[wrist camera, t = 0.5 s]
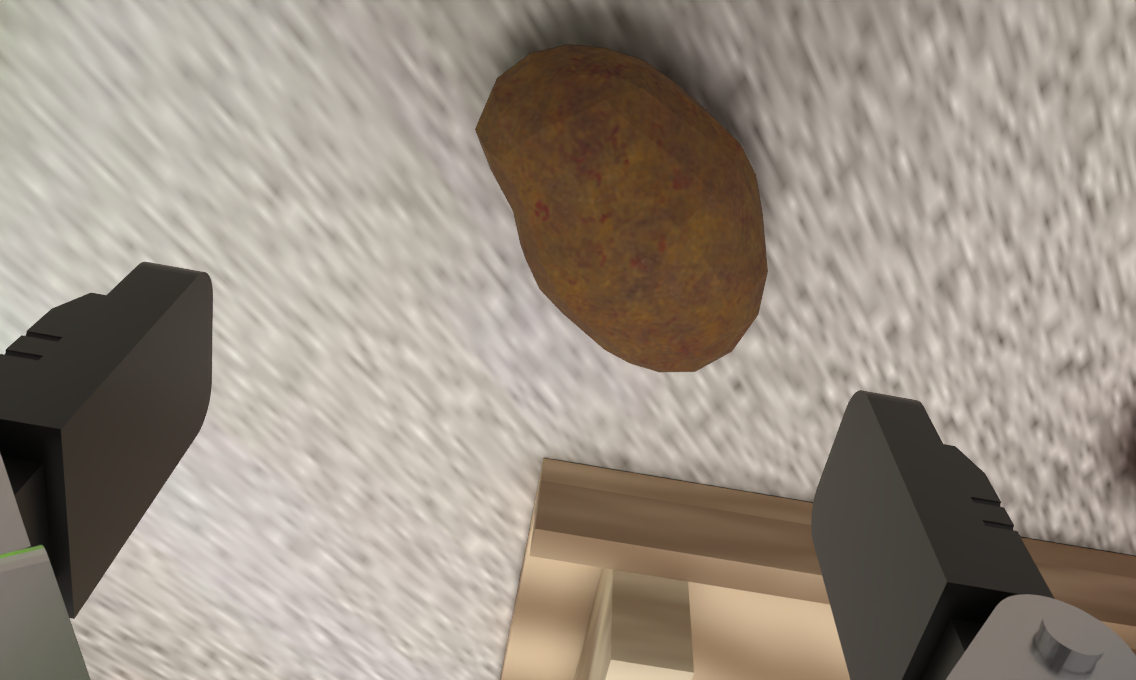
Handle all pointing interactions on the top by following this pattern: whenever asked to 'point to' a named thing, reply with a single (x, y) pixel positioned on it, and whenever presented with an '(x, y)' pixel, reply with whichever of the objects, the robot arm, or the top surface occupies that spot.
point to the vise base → (723, 575)
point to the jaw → (638, 630)
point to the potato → (628, 205)
